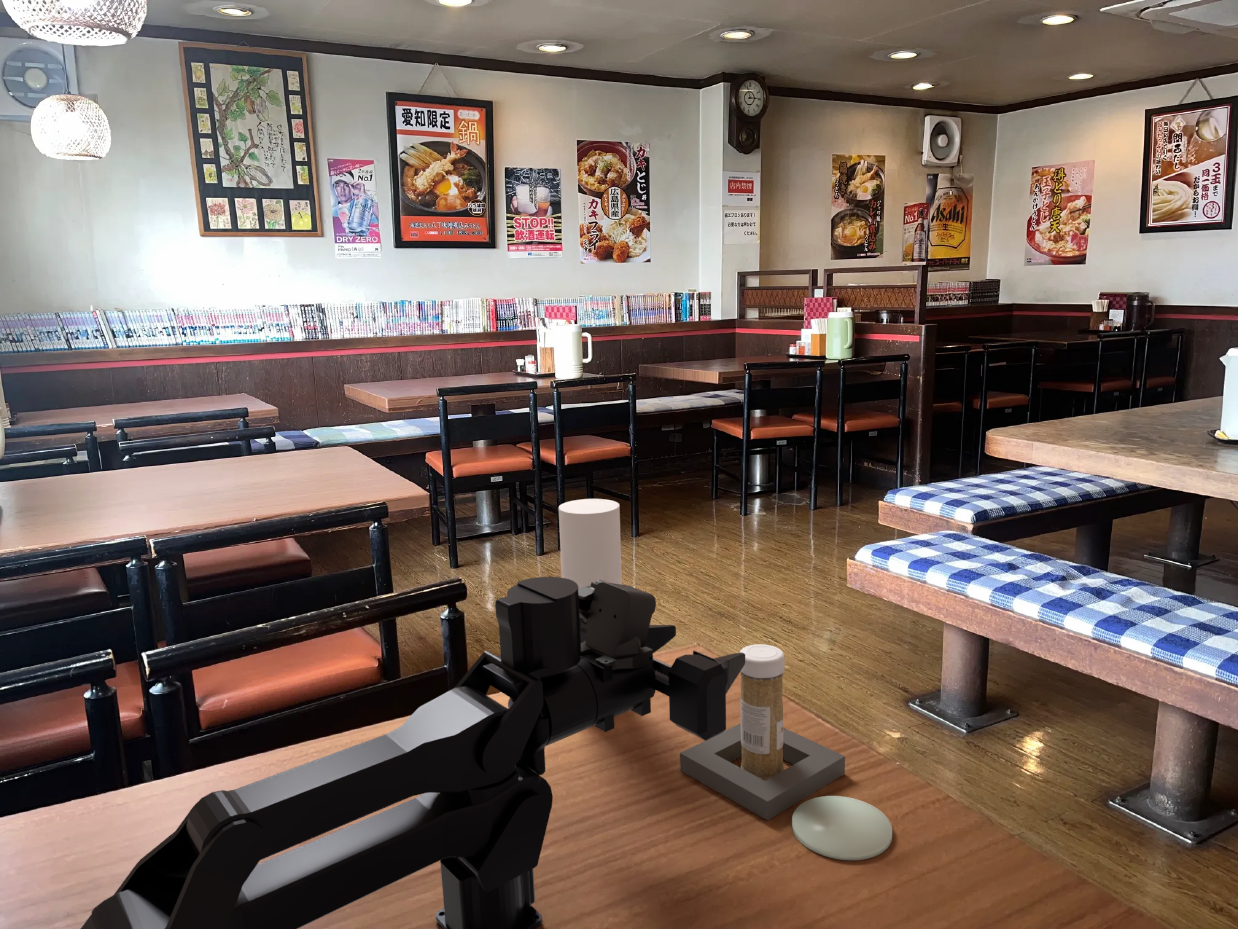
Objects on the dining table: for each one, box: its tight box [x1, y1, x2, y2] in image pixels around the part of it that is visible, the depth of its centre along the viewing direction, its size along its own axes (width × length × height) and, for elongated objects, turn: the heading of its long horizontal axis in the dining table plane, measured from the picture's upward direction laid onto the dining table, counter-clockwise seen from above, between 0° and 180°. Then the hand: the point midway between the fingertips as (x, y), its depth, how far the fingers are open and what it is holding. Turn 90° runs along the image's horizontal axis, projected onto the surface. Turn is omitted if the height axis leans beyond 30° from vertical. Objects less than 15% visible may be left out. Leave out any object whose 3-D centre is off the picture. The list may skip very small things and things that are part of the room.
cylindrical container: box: [558, 498, 623, 590], centre depth 105 cm, size 7×7×25 cm
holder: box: [679, 722, 846, 821], centre depth 91 cm, size 12×12×2 cm
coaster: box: [791, 795, 893, 861], centre depth 81 cm, size 9×9×1 cm
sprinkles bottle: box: [739, 643, 786, 781], centre depth 90 cm, size 5×5×13 cm
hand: (708, 643), depth 84 cm, fingers open, 9 cm apart
